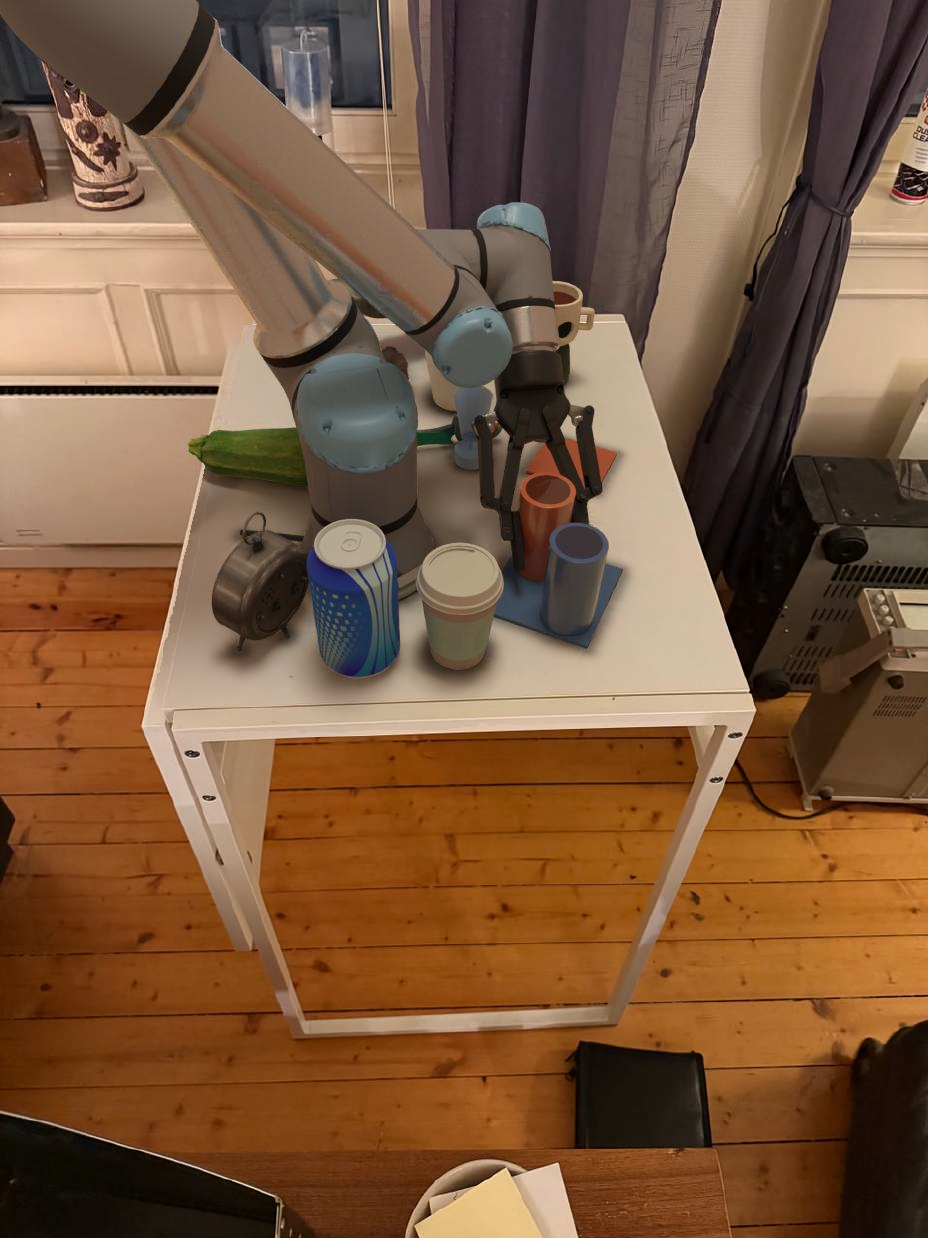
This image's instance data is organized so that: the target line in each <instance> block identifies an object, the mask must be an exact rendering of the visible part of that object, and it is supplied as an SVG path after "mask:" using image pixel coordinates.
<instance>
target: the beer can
mask: <svg viewBox="0 0 928 1238" xmlns="http://www.w3.org/2000/svg"><path fill="white" fill-rule="evenodd" d="M307 571H308V578H309V590H310V597H311V603H312V604H311V605H312V610H313V618H314V625H315V631H316V637H317V644H318V645H317V646H318V650H319V655H320V657H321V658H320V659H321V660H322V661H323V663H324V664H325V666H326V667H327V668H329V670H331V671H332V672H334V673H336V674H337V675H340V676H341V677H345V678H347V679H350V680H351V679H352V680H365V679H370V678H374V677H376V676H378V675H380V674H381V673H383V672H384V671H386V670H387V669H388V668H389V667H390V666H391V665H393V664H394V662H395V661H396V660H397V657H398V656H399V654H400V649H401V632H400V609H399V607H400V606H399V600H398V581H397V559H396V554H395V551H394V549H393V547H392V546H391V544H390V543H389V542H388V541H387V540H386V539H385V536H384V534H383V532H382V531H381V530H380V529H379V528H378V527H377V526H376V525H374V524H372V523H370V522H367V521H364V520H359V519H345V520H340V521H336V522H333V523H331V524H329V525H327V526H326V527H324V528H323V529H322V530H321V531H320V532H319V533H318V534H317V536H316V538H315V541H314V546H313V547H312V549H311V550H310V552H309V555H308V558H307Z"/></svg>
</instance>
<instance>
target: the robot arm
mask: <svg viewBox="0 0 928 1238" xmlns="http://www.w3.org/2000/svg"><path fill="white" fill-rule="evenodd" d="M0 16H1V18H2V19H3V21H4V22H5V23H6V25H7V26H8V27H9V28H10V30H11V31H12V32H13V34H14V35H15V36H16V37H17V38H18V39H19V40H20V41H21V42H22V43H23V44H24V45H25V46H26V47H27V48H28V49H29V50H30V51H31V52H33V53H34V54H35V55H36V56H37V57H39V58H40V59H41V60H42V61H43V62H44V63H46V64H47V65H48V66H49V67H51V69H52V70H54V71H55V72H57V73H58V74H59V75H60V76H61V77H62V78H64V79H65V80H67V81H68V82H69V83H70V84H71V85H74V87H76V88H77V89H78V90H79V91H81V92H82V93H83V94H85V95H86V96H87V97H89V98H90V99H91V100H93V101H94V102H95V103H96V104H98V105H99V106H100V107H102V108H103V109H104V110H106V111H107V112H108V113H109V114H111V115H112V116H113V117H115V118H116V119H117V120H119V122H121V123H122V124H123V125H124V126H125V127H126V129H127V130H128V132H129V134H130V135H131V136H132V138H133V139H134V141H135V143H136V144H137V145H138V147H139V148H140V150H141V151H142V153H143V154H144V156H145V157H146V159H147V160H148V162H149V164H150V165H151V166H152V168H153V169H154V171H155V172H156V174H157V175H158V177H159V178H160V180H161V182H162V183H163V184H164V186H165V188H166V189H167V190H168V192H169V193H170V195H171V196H172V198H173V200H174V201H175V203H176V204H177V206H178V207H179V209H180V210H181V212H182V213H183V215H184V216H185V218H186V219H187V220H188V221H187V222H189V224H190V225H191V227H192V228H193V230H194V231H195V233H196V234H197V236H198V237H199V239H200V240H201V242H202V243H203V245H204V246H205V248H206V249H207V251H208V252H209V254H210V255H211V257H212V258H213V260H214V262H215V263H216V264H217V266H218V267H219V269H220V270H221V272H222V273H223V275H224V276H225V278H226V280H227V281H228V282H229V284H230V286H231V287H232V289H233V290H234V292H235V293H236V295H237V297H238V298H239V299H240V300H241V302H242V304H243V305H244V307H245V308H246V310H247V312H248V313H249V314H250V316H251V317H252V319H253V321H254V322H255V323H256V325H255V328H254V332H253V338H252V340H253V345H254V347H255V349H256V350H257V352H258V354H259V355H260V356H261V358H262V359H263V361H264V362H265V364H266V365H267V367H268V368H269V370H270V371H271V373H272V374H273V375H274V377H275V378H276V380H277V381H278V383H279V384H280V386H281V387H282V389H283V391H284V393H285V395H286V397H287V399H288V403H289V406H290V409H291V413H292V418H293V420H294V424H295V427H296V428H297V432H298V436H299V439H300V443H301V447H302V451H303V456H304V461H305V467H306V474H307V482H308V487H307V488H308V489H307V490H308V497H309V503H310V514H309V517H308V521H307V523H306V527H305V531H304V534H303V535H301V534H293V533H292V534H291V533H282V532H276V533H277V534H278V535H280V536H282V537H284V538H286V539H288V540H290V541H292V542H301V547H302V548H303V549H304V550H305V551H306V553H307V555H309V552H310V550H311V549H312V547H313V546H314V541H315V538H316V536H317V534H318V533H319V532H320V531H321V530H322V529H323V528H324V527H326V526H327V525H329V524H331V523H333V522H336V521H340V520H345V519H359V520H364V521H367V522H370V523H372V524H374V525H376V526H377V527H378V528H379V529H380V530H381V531H382V532H383V534H384V536H385V539H386V540H387V541H388V542H389V543H390V544H391V546H392V547H393V549H394V551H395V554H396V559H397V581H398V601H399V600H402V599H405V598H406V597H407V596H409V595H411V594H413V593H414V592H415V591H418V590H417V586H416V580H417V576H418V571H419V569H420V567H421V565H422V564H423V562H424V560H425V558H426V557H427V555H428V554H429V553H430V552H432V551H433V550H434V549H435V544H434V539H433V536H432V533H431V531H430V529H429V527H428V526H427V523H426V521H425V518H424V516H423V513H422V511H421V507H420V506H419V503H418V502H419V501H418V499H419V497H418V446H417V430H418V429H419V412H418V405H417V401H416V396H415V392H414V387H413V386H412V384H411V382H410V379H409V380H408V379H407V377H406V376H405V375H404V374H403V373H402V371H401V370H400V369H398V368H397V367H396V366H394V365H393V364H391V363H386V360H385V358H384V356H383V353H382V348H381V343H380V341H379V337H378V335H377V333H376V331H375V329H374V327H373V326H372V324H371V322H370V321H369V319H367V318H366V317H365V315H363V314H362V313H361V312H360V310H359V308H358V307H357V305H356V303H355V301H354V299H353V297H352V296H351V294H350V292H349V291H348V289H347V288H346V287H345V286H344V285H343V284H340V283H338V282H334V281H329V280H330V279H329V280H328V279H326V276H325V275H324V273H323V271H322V270H321V267H320V266H322V267H323V268H325V270H327V271H328V272H330V273H331V274H332V275H333V276H334V277H335V278H336V279H337V278H338V279H339V280H341V281H342V282H343V283H344V284H346V285H347V286H348V287H349V288H351V289H352V290H353V291H354V292H355V293H357V294H358V295H359V296H360V297H362V298H363V299H364V300H365V301H367V302H368V303H369V304H370V305H372V306H373V307H374V308H375V309H376V310H378V311H379V312H380V313H381V314H383V315H384V316H385V317H386V318H385V319H387V320H388V321H390V322H391V323H392V324H394V325H395V326H396V327H397V328H398V329H399V330H401V331H402V332H404V334H405V335H407V336H408V337H409V338H410V339H411V340H413V341H414V342H415V343H416V344H417V345H418V346H420V347H421V348H422V349H423V350H424V349H425V350H426V351H427V352H428V353H429V354H430V355H431V356H432V360H433V363H434V365H435V367H436V368H437V369H438V370H439V371H440V372H441V373H442V375H443V376H444V377H445V378H446V380H448V381H449V382H450V383H452V384H454V385H456V386H459V387H463V388H476V387H480V386H481V387H484V386H485V385H488V384H490V383H492V382H493V381H494V382H493V383H494V391H495V406H494V408H493V411H490V412H489V414H487V415H484V416H482V415H478V416H477V417H476V418H475V419H474V420H473V421H472V423H471V426H472V429H473V431H474V434H475V436H476V439H477V442H478V463H479V469H478V482H479V483H478V484H479V499H480V500H479V501H480V502H479V503H480V506H481V508H484V509H487V510H492V511H495V512H496V513H497V515H498V521H499V530H500V531H499V532H500V538H501V540H502V542H510V548H511V555H512V559H513V568H514V571H520V570H526V567H525V558H524V549H523V540H522V531H521V522H520V513H519V510H518V509H517V510H512V508H513V504H514V503H513V502H514V497H515V492H516V487H517V481H518V476H519V471H520V466H521V460H522V457H523V451H524V449H525V445H528V444H530V443H532V442H535V443H544V442H545V444H546V446H547V448H548V449H549V450H550V452H551V454H552V457H553V459H554V461H555V464H556V466H557V468H558V471H559V473H560V475H562V476H564V477H566V478H567V479H569V480H570V481H571V482H572V483H573V485H574V486H575V489H576V496H575V502H574V509H573V515H572V521H571V523H584V524H588V525H590V519H589V510H588V503H589V501H590V500H592V499H594V498H595V497H597V496H600V495H601V494H602V493H603V482H602V483H601V477H600V471H599V465H598V459H597V453H596V448H595V446H596V442H595V437H594V431H593V423H594V418H595V408H594V407H593V406H592V405H590V404H589V405H586V406H581V405H580V406H579V405H575V404H571V402H570V400H569V399H568V397H567V395H566V392H565V382H564V381H563V372H562V363H561V356H560V355H559V354H558V353H556V351H557V350H558V348H559V347H560V343H559V334H558V326H557V318H556V310H555V304H554V293H553V282H552V281H553V272H552V260H551V255H552V248H551V245H550V241H549V240H550V239H549V234H548V228H547V225H546V219H545V216H544V214H543V212H542V210H541V209H540V208H539V207H538V206H535V205H533V204H531V203H527V202H517V201H515V202H514V201H512V202H509V203H507V204H497V205H494V206H492V207H490V208H487V209H486V210H485V211H483V212H482V213H481V214H479V217H478V218H477V221H476V228H473V229H449V228H447V229H445V228H444V229H441V228H440V229H439V228H436V229H435V228H415V227H414V226H413V225H412V224H411V223H410V222H409V221H408V220H407V219H405V217H403V215H401V213H399V211H397V210H396V209H395V208H394V207H393V206H392V205H391V204H390V203H389V202H387V200H386V199H385V198H383V197H382V196H381V195H380V194H379V193H378V192H377V191H376V190H375V189H374V188H373V187H372V186H370V184H369V183H368V182H366V180H365V179H363V178H362V177H361V176H360V175H359V174H358V173H357V172H356V171H355V170H354V169H352V167H351V166H349V165H348V164H347V163H346V161H344V160H343V159H342V158H341V157H340V156H339V155H338V154H337V153H336V152H335V151H334V150H333V149H332V148H331V147H330V146H329V145H328V144H326V143H325V142H324V141H323V140H322V139H321V138H320V137H319V136H318V135H317V134H316V133H315V132H313V130H312V129H311V128H309V127H308V126H307V125H306V124H305V123H304V122H303V121H302V120H301V119H300V118H299V117H298V116H297V115H295V114H294V113H293V112H292V111H291V109H289V108H288V107H287V106H286V105H285V104H283V102H282V101H281V100H280V99H279V98H278V97H276V96H275V95H274V94H273V93H272V92H271V90H269V89H268V88H267V87H266V86H265V85H264V84H263V83H261V81H260V80H259V79H257V78H256V77H255V76H254V75H253V73H251V72H250V71H249V70H248V69H247V68H246V67H245V66H243V64H241V62H239V61H238V60H237V59H236V58H235V57H234V56H233V55H232V54H231V53H230V52H229V51H228V50H227V49H225V47H224V45H223V44H222V36H221V32H220V25H219V22H218V20H217V19H216V18H215V17H214V16H213V15H212V14H211V13H210V12H209V11H208V10H207V9H206V8H204V7H203V5H201V4H200V2H199V1H198V0H0ZM319 265H320V266H319ZM425 350H424V351H425ZM567 417H570V421H571V424H572V426H574V427H575V438H576V441H577V444H578V450H579V456H580V462H581V468H582V474H583V479H584V485H585V489H584V486H583V484H582V482H581V479H580V477H579V474H578V472H577V470H576V467H575V465H574V463H573V460H572V458H571V456H570V453H569V451H568V449H567V446H566V444H565V438H566V437H565V435H564V433H563V431H562V429H561V427H562V426H563V424H564V422H565V421H566V419H567ZM495 423H499V424H500V426H501V427H502V428H503V429H502V430H504V431H505V433H506V434H507V435H508V436H509V437H508V442H507V447H506V457H505V461H504V467H503V473H502V477H501V483H500V488H499V492H498V493H499V494H498V497H496V490H495V489H496V488H495V468H494V466H495V465H494V446H493V444H494V443H493V439H492V435H491V434H492V433H493V432H494V430H495V426H494V424H495ZM259 531H260V530H251V529H246V537H248V536H250V535H252V534H254V533H256V532H259ZM242 533H243V528H242V529H240V530H239V535H240V536H242Z"/></svg>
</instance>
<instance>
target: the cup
mask: <svg viewBox="0 0 928 1238" xmlns="http://www.w3.org/2000/svg"><path fill="white" fill-rule="evenodd" d="M423 351H424V355H425V360H426V365H427V366H426V367H427V372H428V376H429V383H430V388H431V394H432V399H433V402H434V403H435V404H436V405H437V406H438V407H440V408H441V409H444V410H446V411H449V412H457V410H456V405H455V399H454V393H455V392H456V391H457V390H458V389H460V388H462V387H459V386H456V385H454V384H452V383H450V382H449V381H448V380H446V378H445V377H444V376H443V375H442V373H441V372H440V371H439V370H438V369H437V368H436V367H435V365H434V363H433V360H432V356H431V355H430V354H429V353H428V352H427V351H426V350H425V349H424V348H423Z"/></svg>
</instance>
